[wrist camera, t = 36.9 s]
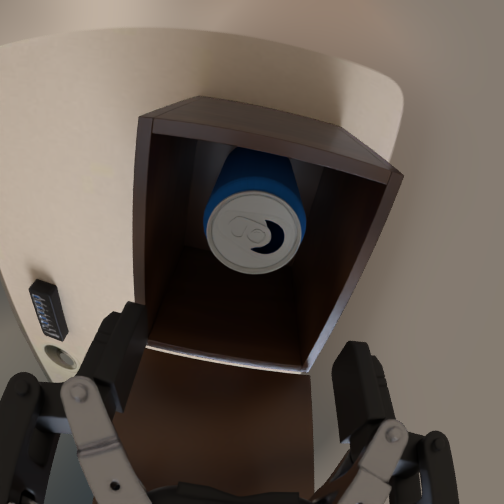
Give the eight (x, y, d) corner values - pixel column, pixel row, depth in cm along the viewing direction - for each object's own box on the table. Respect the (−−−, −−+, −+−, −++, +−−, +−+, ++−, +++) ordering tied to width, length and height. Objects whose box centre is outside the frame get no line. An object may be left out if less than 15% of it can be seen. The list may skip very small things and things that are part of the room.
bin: (197, 95, 25) (138, 116, 13) (341, 127, 26) (404, 175, 14) (178, 246, 34) (138, 343, 22) (296, 268, 35) (308, 373, 23)
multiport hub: (56, 285, 38) (49, 295, 36) (68, 333, 44) (63, 342, 42) (35, 278, 38) (27, 287, 36) (49, 325, 44) (43, 334, 42)
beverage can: (274, 213, 30) (279, 292, 20) (213, 189, 29) (186, 258, 19) (303, 156, 27) (328, 211, 17) (238, 128, 26) (221, 166, 16)
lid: (82, 560, 7) (104, 553, 11) (312, 589, 8) (284, 577, 12) (136, 345, 21) (142, 378, 25) (310, 375, 22) (288, 403, 26)
